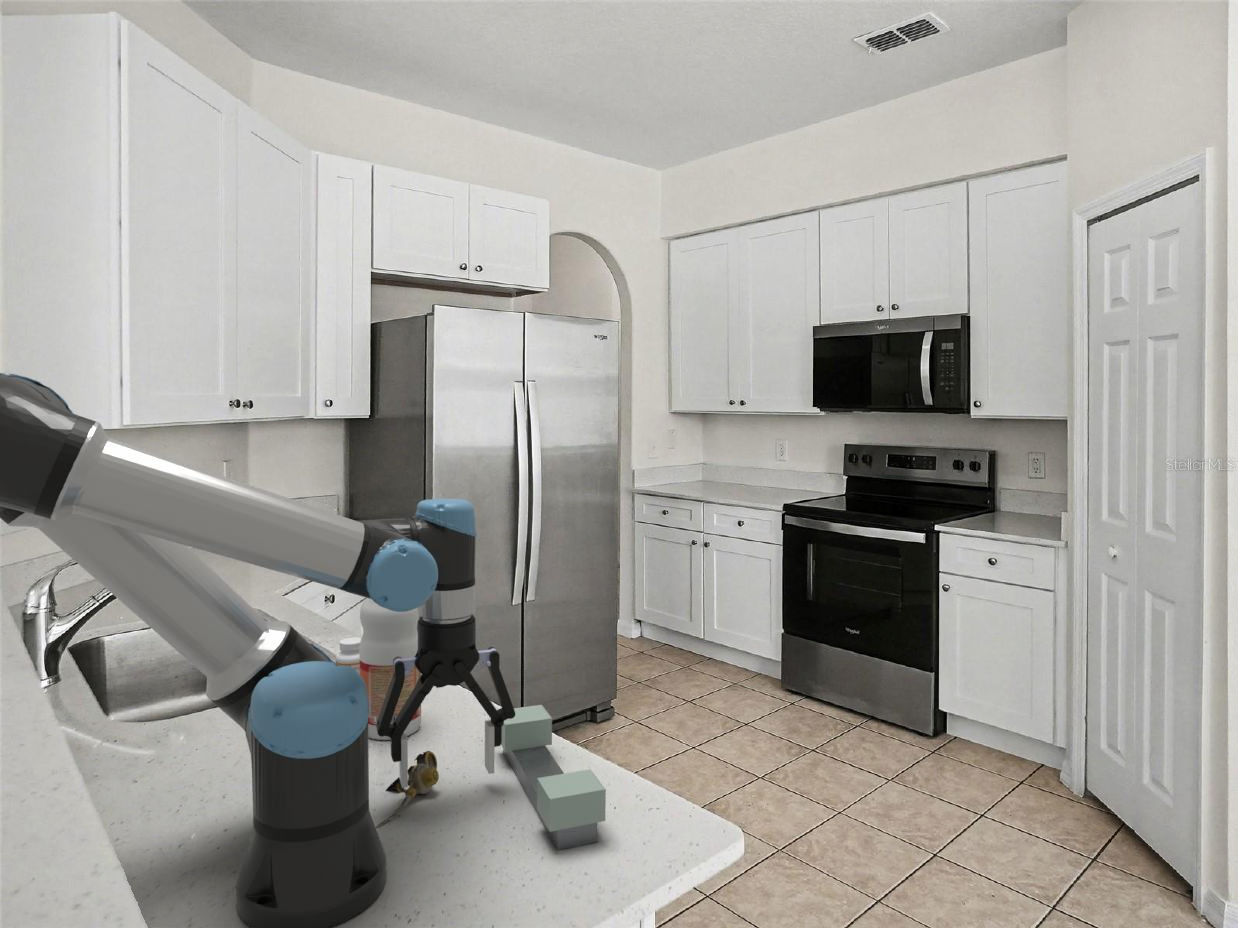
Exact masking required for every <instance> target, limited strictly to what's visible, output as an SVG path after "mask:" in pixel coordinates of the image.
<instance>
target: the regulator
mask: <svg viewBox="0 0 1238 928" xmlns="http://www.w3.org/2000/svg"><path fill="white" fill-rule="evenodd" d="M414 761H416V765H410V766H409V768H408V787H407V789H406V790H405V788H402V786H401V782H400V776H398V777H397V778H396V779H395V780H394V781H393V782H391V784H390V785H389V786H388V787H387V788H386V789H385V791H392V790H394V791H395V792H396V791H397V792H398V793H401V792H403V790H405V791H404V794H405V797H404V799H403V801H402V802H401V804H400V806H399V807H398V808H397V809H396V810H395V811H394V813H392V814H391V815H390V816H388V817H387V818H386V819H384V820H383V821H381V822H380V823H379V824H378V825H376V826H375V828H376V829H379V828H381V827H383V826H385V825H386V824H387V823H388V822H390V821H391V819H392V818H393V817H396V816H397V815H398V814H399V813H400V812H401V809H402V808H405V807H406V805H407V804H408V803H409V802H410V801H411V800H412V799H413V798H415V796H416V795H417V794H421V795H426V794H428V793H429V792H430V791H431V790H432V787H433V786H434V785H436V784H437V783H438V781H439V777H440V775H439V771H438V761H437V757H436V755H435V754H434V752H432V751H431V750H426V751H425V752H422V753H419V754H418V755H417V756H416V758H415V759H414ZM388 789H390V790H388ZM391 789H392V790H391Z"/></svg>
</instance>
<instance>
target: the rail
mask: <svg viewBox="0 0 1238 928" xmlns="http://www.w3.org/2000/svg"><path fill="white" fill-rule="evenodd" d="M502 752H503V755H504V756H505V757H506V759H507V761H508V763H509V765H510V767H511V769H512V771H513V772H514V774H515V775H516V778H517V779H518V781H519V783H520V784H521V786H522V788H523V790H524V792H525V794H526V795H527V798H528V799H529V801H530V804H532V807H533V808H534V810H535V812H536V814H537V815H538V817H539V819H540V821H541V823H542V824H543V826H544V828H545V830H546V833H548V836H549V838H550V839H551V841H552V843H553V844H554V846H555V848H556V850H557V851H561V850H567V849H570V848H575V847H580V846H586V845H591V844H596V843H598V826H599V825H598V823H599V822H598V823H592V824H587V825H582V826H577V827H572V828H567V829H561V830H556V831H551V832H550V831H549V830H548V828H547V826H546V824H545V822H544V821H543V819H542V817H541V815H540V813H539V812H538V810H537V778H541V777H547V776H553V775H559V774H565V773H564V771H563V769H562V768H561V767H560V765H559V764H558V762H557V761H556V759H555V757H554V756H553V755H552V753H551V752H550V750H549V749H548V748H547V745H546V746H540V747H533V748H526V749H520V750H513V751H507V752H505V751H504V749H503V748H502Z"/></svg>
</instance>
